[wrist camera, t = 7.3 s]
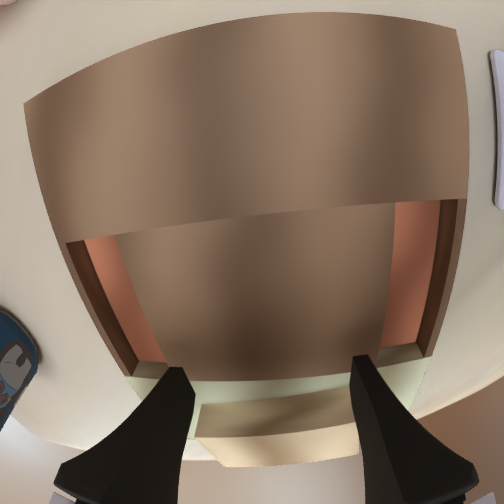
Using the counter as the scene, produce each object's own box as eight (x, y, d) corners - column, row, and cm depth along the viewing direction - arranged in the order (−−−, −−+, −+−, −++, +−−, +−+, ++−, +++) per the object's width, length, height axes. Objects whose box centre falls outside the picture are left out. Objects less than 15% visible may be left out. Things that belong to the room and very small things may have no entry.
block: (351, 384, 14) (359, 421, 12) (353, 423, 16) (358, 453, 14) (201, 403, 16) (194, 437, 14) (228, 438, 18) (224, 466, 16)
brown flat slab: (437, 35, 7) (455, 29, 6) (396, 409, 18) (400, 424, 17) (43, 101, 10) (23, 103, 8) (172, 422, 20) (168, 436, 19)
